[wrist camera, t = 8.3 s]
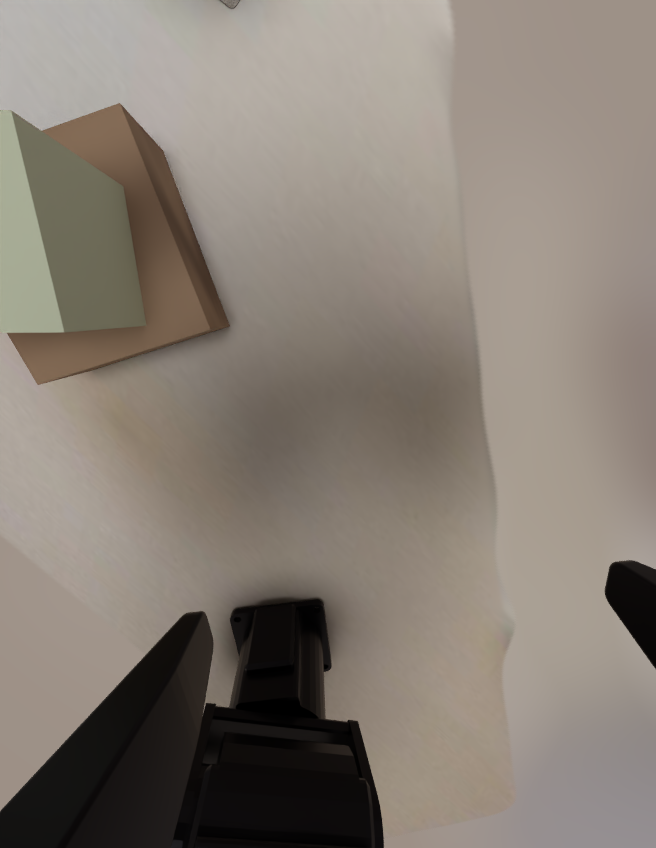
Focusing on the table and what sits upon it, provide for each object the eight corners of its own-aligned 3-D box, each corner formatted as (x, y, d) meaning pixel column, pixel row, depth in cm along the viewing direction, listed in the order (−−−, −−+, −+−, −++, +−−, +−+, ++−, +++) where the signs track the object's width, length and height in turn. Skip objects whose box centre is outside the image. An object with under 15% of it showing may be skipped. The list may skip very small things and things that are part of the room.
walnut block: (231, 325, 18) (210, 329, 14) (93, 370, 18) (37, 384, 15) (166, 153, 16) (119, 103, 12) (7, 208, 16) (-87, 176, 12)
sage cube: (146, 325, 14) (64, 332, 9) (22, 326, 14) (-126, 333, 9) (123, 186, 13) (11, 110, 8) (-17, 184, 12) (-220, 104, 8)
